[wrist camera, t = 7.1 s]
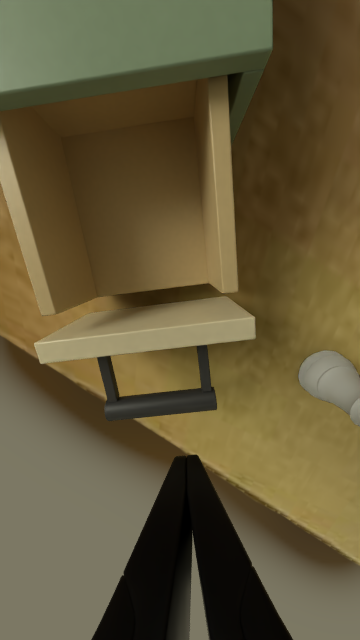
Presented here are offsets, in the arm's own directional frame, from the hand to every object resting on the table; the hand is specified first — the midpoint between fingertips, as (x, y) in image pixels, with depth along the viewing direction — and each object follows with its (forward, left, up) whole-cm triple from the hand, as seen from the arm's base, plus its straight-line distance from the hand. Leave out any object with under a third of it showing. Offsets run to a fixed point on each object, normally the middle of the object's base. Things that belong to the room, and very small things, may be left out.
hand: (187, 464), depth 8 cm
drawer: (+2, -7, -11) cm, 13 cm away
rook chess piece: (-12, +4, -12) cm, 18 cm away
